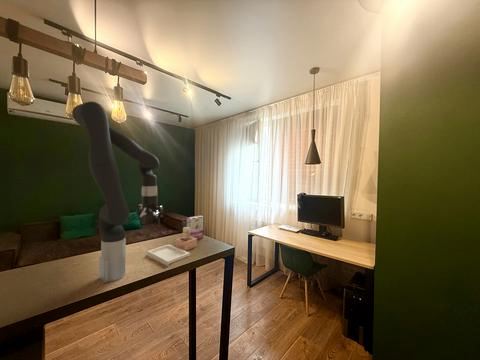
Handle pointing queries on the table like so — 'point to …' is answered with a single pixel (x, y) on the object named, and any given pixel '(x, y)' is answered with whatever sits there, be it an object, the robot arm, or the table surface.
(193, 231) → the candy bar box
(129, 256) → the table surface
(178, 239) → the pink square box
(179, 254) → the tray
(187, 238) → the birch dowel
